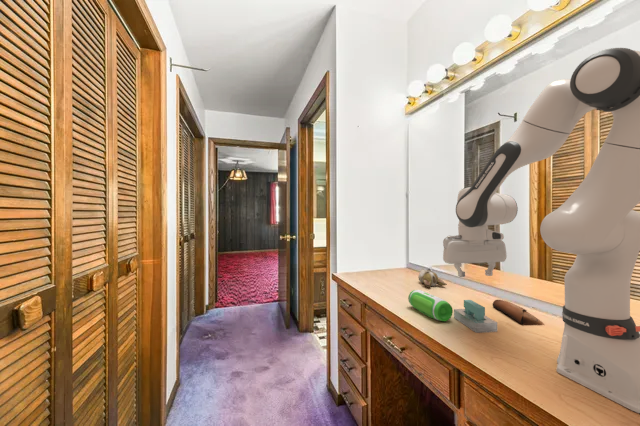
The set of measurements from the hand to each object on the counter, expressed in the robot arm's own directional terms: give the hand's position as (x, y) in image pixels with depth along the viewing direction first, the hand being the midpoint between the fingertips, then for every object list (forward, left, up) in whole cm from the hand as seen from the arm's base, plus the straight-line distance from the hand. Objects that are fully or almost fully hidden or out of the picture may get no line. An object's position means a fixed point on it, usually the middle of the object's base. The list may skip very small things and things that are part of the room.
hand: (475, 276), depth 95 cm
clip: (+1, 0, -16) cm, 16 cm away
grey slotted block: (+1, 0, -16) cm, 16 cm away
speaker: (+12, +11, -17) cm, 23 cm away
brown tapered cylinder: (+7, -19, -17) cm, 27 cm away
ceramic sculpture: (+51, -7, -17) cm, 54 cm away
